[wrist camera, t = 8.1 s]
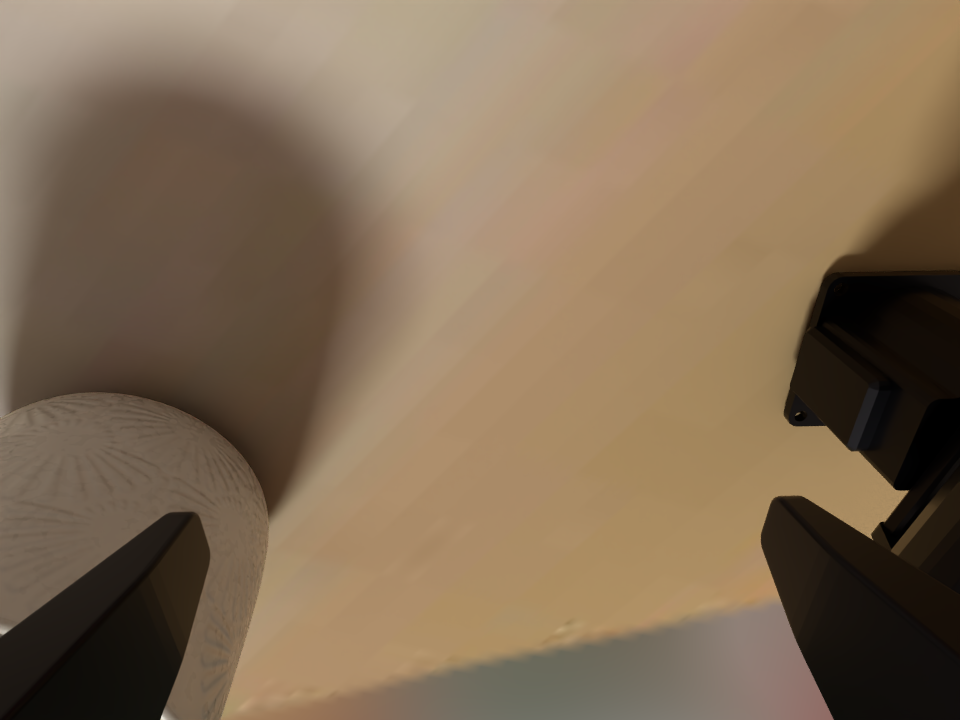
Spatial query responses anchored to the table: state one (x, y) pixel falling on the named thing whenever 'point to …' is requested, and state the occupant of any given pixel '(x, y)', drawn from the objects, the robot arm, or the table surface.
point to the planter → (130, 518)
